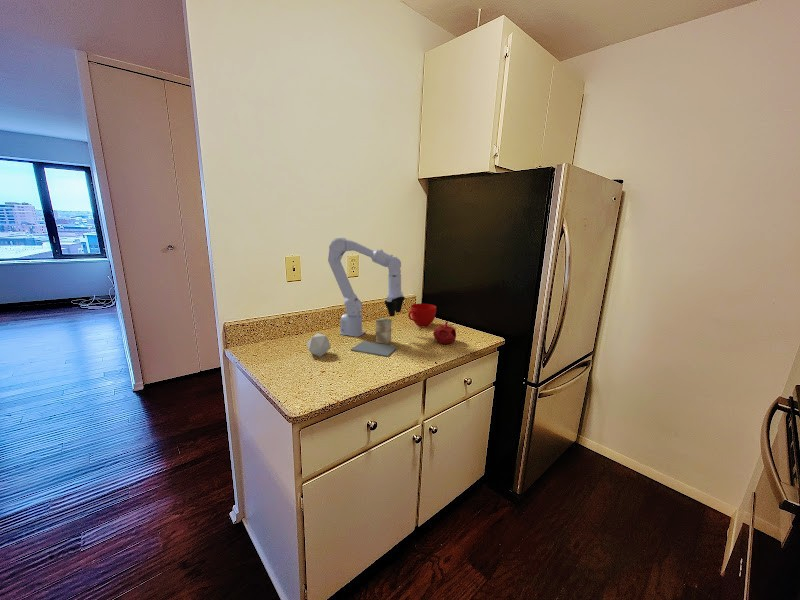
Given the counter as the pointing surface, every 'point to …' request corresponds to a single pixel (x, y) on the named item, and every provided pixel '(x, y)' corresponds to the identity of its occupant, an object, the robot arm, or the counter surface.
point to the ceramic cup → (422, 314)
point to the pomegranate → (444, 334)
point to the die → (318, 344)
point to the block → (383, 331)
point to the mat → (374, 348)
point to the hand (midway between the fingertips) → (395, 314)
